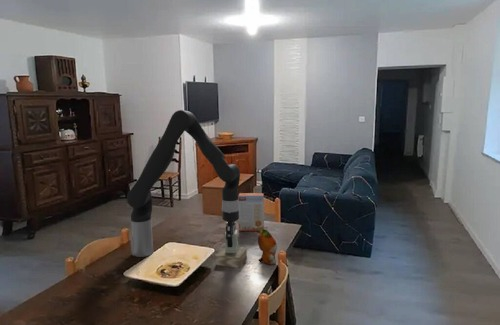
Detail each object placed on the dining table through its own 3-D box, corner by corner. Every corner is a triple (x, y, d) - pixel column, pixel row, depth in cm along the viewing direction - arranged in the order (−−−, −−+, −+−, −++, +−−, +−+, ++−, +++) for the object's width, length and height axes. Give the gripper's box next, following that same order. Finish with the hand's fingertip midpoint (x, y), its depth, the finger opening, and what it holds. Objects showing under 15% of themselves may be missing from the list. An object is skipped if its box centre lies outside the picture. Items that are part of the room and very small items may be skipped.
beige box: (215, 265, 164) (215, 255, 163) (224, 255, 174) (224, 245, 174) (239, 268, 160) (239, 258, 159) (247, 258, 171) (247, 248, 170)
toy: (275, 266, 161) (275, 234, 158) (255, 265, 163) (255, 233, 160) (278, 256, 172) (278, 225, 169) (260, 254, 173) (259, 224, 171)
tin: (225, 253, 165) (224, 233, 163) (226, 248, 170) (226, 229, 168) (236, 253, 164) (236, 233, 163) (237, 248, 169) (237, 230, 168)
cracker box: (264, 228, 209) (264, 192, 206) (263, 231, 203) (263, 195, 200) (240, 227, 211) (239, 192, 207) (238, 231, 205) (238, 195, 201)
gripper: (224, 204, 170) (225, 237, 173) (219, 213, 156) (220, 249, 159) (240, 204, 170) (241, 237, 172) (236, 214, 156) (237, 249, 158)
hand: (231, 243), depth 166 cm, fingers open, 8 cm apart
